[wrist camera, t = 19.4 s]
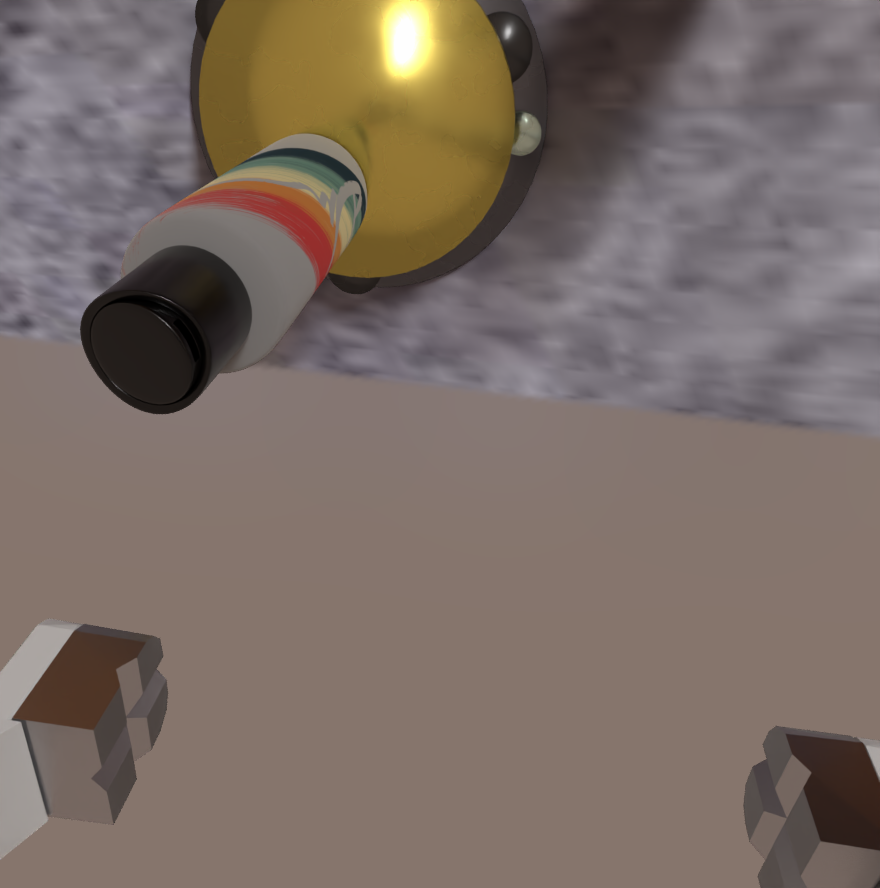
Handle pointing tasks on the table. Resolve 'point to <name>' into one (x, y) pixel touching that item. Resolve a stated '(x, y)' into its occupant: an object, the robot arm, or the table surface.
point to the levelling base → (384, 114)
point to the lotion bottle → (224, 273)
